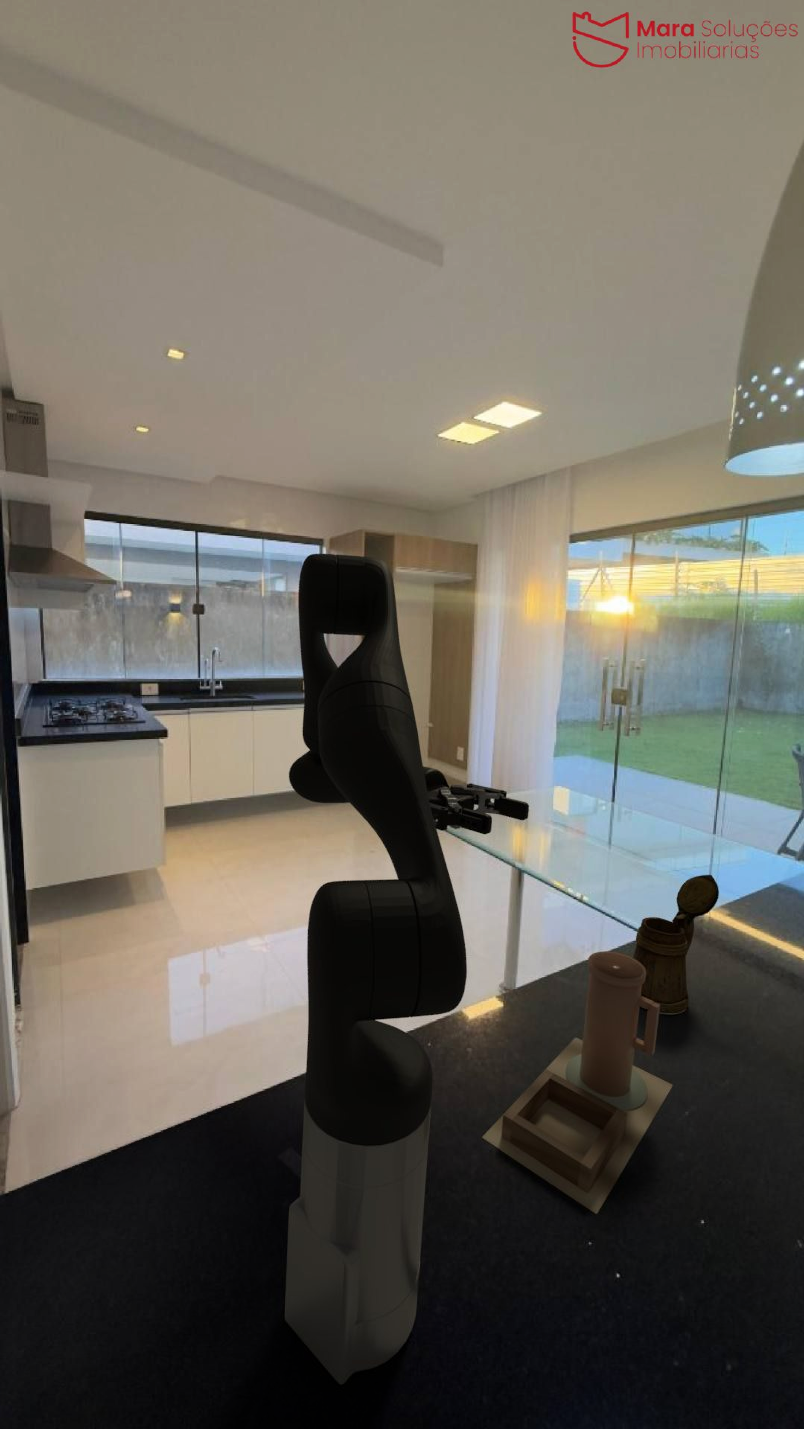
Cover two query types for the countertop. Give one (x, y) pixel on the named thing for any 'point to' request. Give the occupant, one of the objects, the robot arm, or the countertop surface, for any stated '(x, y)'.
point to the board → (577, 1128)
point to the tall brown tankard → (615, 1023)
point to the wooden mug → (673, 945)
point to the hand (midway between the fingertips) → (509, 818)
